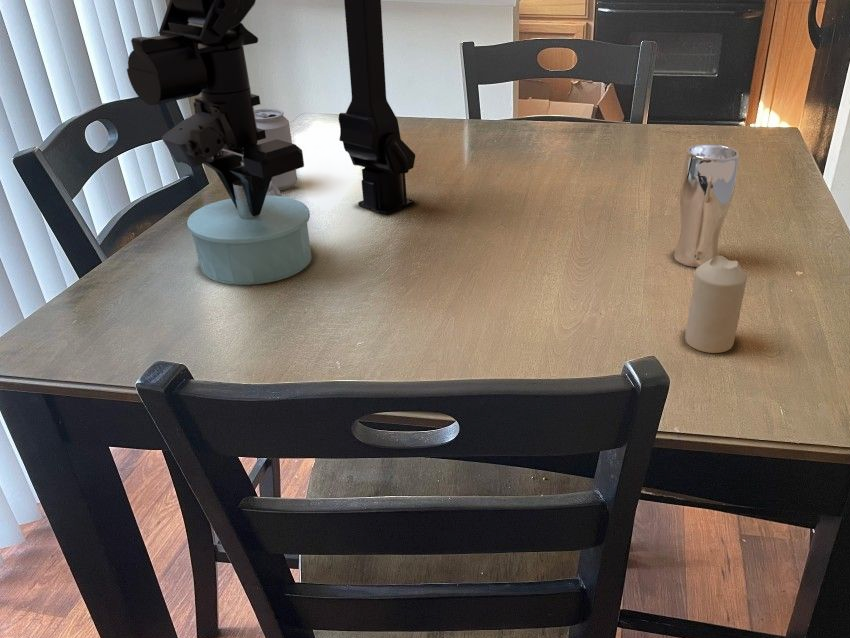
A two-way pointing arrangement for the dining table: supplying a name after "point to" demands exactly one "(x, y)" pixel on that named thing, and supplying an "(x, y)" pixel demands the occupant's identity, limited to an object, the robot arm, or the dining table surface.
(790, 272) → the dining table surface
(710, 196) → the beer glass
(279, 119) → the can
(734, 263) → the candle
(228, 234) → the lid
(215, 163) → the robot arm
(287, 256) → the pot
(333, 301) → the dining table surface
